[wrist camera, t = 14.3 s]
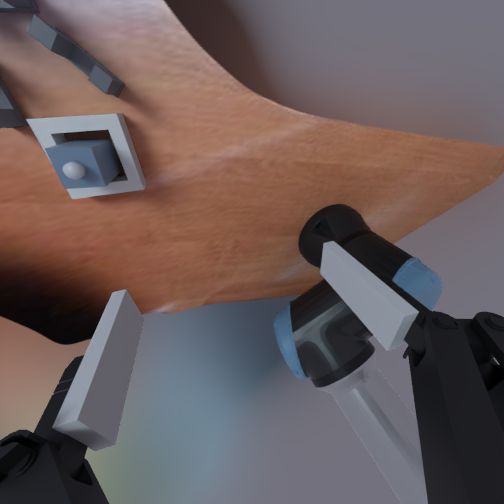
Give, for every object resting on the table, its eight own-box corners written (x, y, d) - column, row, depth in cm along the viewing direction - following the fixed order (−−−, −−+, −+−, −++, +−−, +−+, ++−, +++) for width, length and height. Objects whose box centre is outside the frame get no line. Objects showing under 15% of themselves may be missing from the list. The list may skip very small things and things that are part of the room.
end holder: (146, 183, 32) (143, 189, 29) (80, 192, 30) (72, 199, 27) (122, 113, 26) (116, 113, 24) (40, 118, 25) (25, 119, 22)
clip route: (135, 118, 27) (128, 120, 23) (11, 127, 24) (-22, 130, 20) (94, -13, 21) (73, -42, 17) (-82, -21, 18) (-157, -59, 14)
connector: (111, 138, 27) (86, 149, 20) (121, 170, 30) (102, 189, 22) (76, 139, 27) (37, 150, 19) (90, 171, 29) (59, 192, 22)
